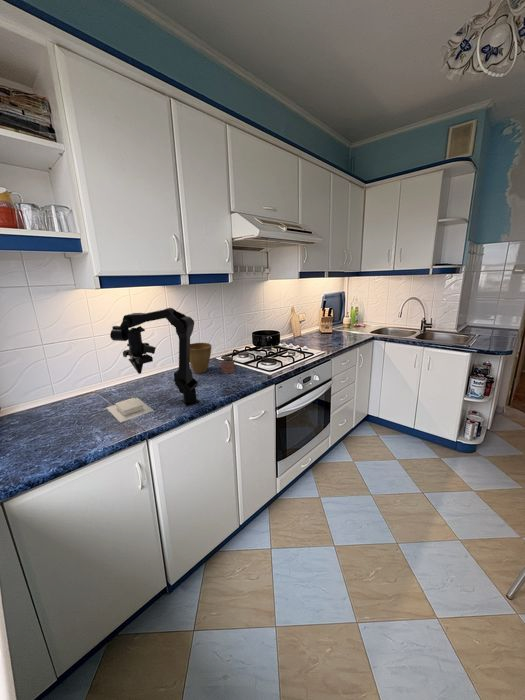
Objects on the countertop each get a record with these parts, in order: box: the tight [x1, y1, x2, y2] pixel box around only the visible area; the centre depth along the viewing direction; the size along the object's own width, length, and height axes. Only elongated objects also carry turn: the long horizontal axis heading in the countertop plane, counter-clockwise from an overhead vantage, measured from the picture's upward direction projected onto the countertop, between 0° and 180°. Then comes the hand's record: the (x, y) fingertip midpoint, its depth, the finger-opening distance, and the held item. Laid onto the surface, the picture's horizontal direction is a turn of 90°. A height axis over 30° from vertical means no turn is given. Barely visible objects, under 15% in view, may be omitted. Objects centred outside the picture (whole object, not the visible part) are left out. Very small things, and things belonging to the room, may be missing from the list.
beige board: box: [106, 397, 154, 423], centre depth 128 cm, size 18×14×1 cm
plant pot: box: [190, 342, 212, 374], centre depth 172 cm, size 15×15×16 cm
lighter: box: [220, 355, 236, 375], centre depth 170 cm, size 8×3×10 cm, turn 84°
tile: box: [114, 397, 143, 416], centre depth 127 cm, size 2×8×10 cm
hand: (139, 373), depth 136 cm, fingers closed
